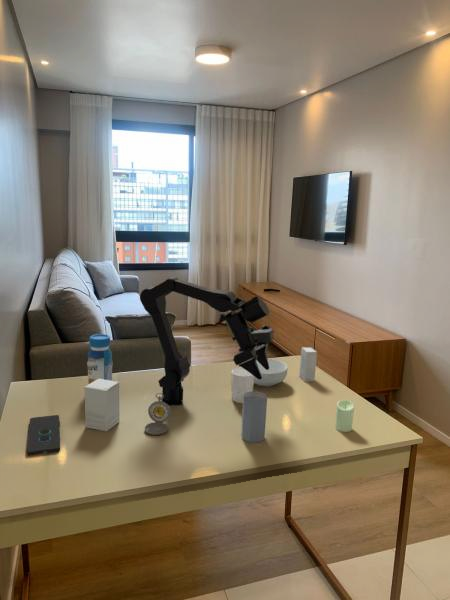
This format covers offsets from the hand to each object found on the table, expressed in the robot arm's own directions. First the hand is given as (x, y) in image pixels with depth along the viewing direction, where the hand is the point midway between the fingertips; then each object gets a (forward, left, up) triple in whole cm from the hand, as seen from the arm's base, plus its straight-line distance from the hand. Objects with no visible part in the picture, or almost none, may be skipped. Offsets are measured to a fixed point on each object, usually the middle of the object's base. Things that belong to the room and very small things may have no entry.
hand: (264, 374), depth 139 cm
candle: (+24, -8, -15) cm, 29 cm away
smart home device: (-63, -5, -16) cm, 66 cm away
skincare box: (+27, +33, -15) cm, 45 cm away
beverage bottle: (-51, +24, -15) cm, 59 cm away
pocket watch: (-32, -4, -15) cm, 36 cm away
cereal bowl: (+9, +30, -15) cm, 35 cm away
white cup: (-3, +15, -15) cm, 22 cm away
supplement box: (-48, 0, -15) cm, 51 cm away
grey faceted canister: (-5, -11, -15) cm, 19 cm away
